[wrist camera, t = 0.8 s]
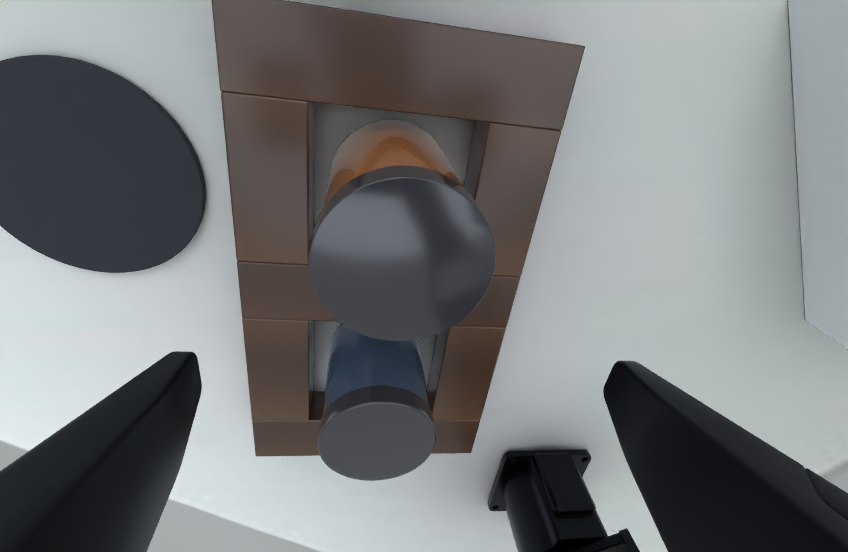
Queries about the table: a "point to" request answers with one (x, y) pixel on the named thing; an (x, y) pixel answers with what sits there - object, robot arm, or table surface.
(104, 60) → the table surface
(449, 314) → the amber jar
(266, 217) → the jar stand
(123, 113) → the coaster
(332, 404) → the spice jar
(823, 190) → the block
